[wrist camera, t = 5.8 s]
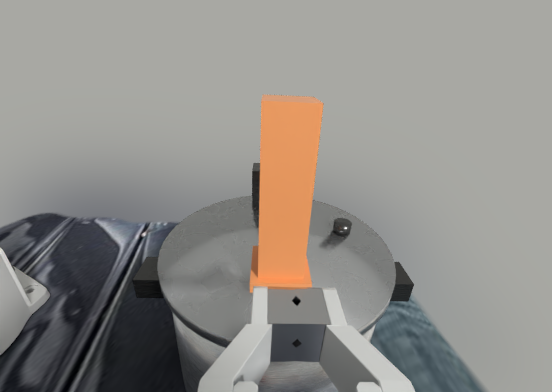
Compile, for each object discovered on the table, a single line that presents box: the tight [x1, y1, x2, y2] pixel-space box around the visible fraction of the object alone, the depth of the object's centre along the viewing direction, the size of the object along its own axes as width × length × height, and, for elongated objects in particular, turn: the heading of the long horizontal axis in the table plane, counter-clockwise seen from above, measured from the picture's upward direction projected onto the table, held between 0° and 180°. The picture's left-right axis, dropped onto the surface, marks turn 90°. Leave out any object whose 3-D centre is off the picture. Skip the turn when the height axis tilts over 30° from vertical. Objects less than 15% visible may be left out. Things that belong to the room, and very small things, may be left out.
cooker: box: [133, 163, 414, 392], centre depth 25 cm, size 19×24×17 cm
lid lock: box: [250, 95, 323, 293], centre depth 17 cm, size 4×4×12 cm
